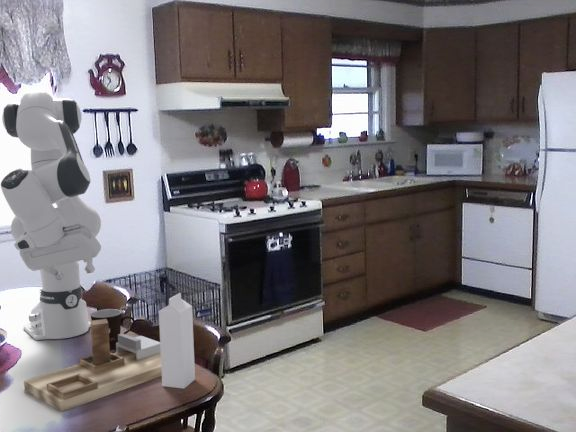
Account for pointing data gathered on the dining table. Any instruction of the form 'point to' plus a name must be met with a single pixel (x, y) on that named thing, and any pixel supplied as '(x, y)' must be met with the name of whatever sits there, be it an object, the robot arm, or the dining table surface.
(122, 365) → the board
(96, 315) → the coffee mug
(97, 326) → the block
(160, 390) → the dining table surface
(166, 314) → the milk
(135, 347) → the cover
